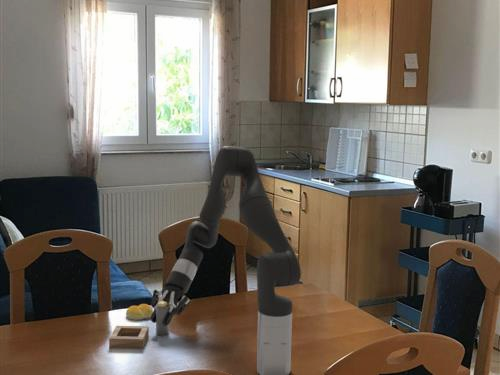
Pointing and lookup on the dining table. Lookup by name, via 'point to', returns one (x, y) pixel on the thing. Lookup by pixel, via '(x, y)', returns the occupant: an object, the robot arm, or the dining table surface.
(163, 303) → the plug
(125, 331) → the socket
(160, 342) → the dining table surface
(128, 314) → the bread roll
